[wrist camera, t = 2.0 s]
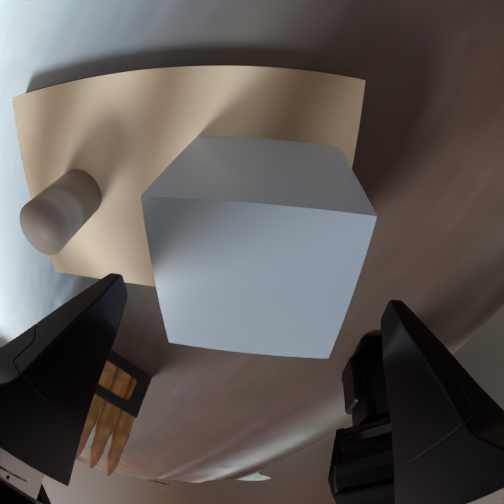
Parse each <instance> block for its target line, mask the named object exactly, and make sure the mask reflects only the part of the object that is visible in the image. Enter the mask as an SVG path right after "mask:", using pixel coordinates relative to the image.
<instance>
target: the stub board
mask: <svg viewBox="0 0 504 504" xmlns="http://www.w3.org/2000/svg"><path fill="white" fill-rule="evenodd" d="M365 81H366V80H362V79H358V78H353V77H348V76H342V75H336V74H330V73H323V72H315V71H307V70H299V69H289V68H277V67H263V66H239V65H201V66H178V67H163V68H152V69H142V70H134V71H126V72H119V73H112V74H106V75H100V76H95V77H89V78H84V79H79V80H75V81H70V82H66V83H61V84H57V85H53V86H49V87H46V88H42V89H38V90H35V91H31V92H28V93H25V94H22V95H19V96H16V97H13V107H14V115H15V122H16V129H17V135H18V141H19V147H20V152H21V157H22V162H23V166H24V171H25V175H26V179H27V184H28V188H29V191H30V195H31V199H32V200H31V201H29V202H28V203H27V204H26V205H25V206H24V207H23V208H22V210H21V213H20V224H21V228H22V230H23V233H24V235H25V236H26V238H27V240H28V241H29V242H30V243H31V245H32V246H33V247H35V248H36V249H37V250H38V251H40V252H42V253H44V254H47V255H50V258H51V260H52V263H53V266H54V268H55V271H56V272H62V273H68V274H74V275H80V276H86V277H93V278H99V279H102V278H104V277H105V276H107V275H108V274H110V273H116V274H121V275H122V276H123V279H124V282H126V283H133V284H140V285H148V286H155V287H156V284H155V279H154V274H153V269H152V264H151V259H150V253H149V248H148V242H147V236H146V230H145V223H144V217H143V210H142V203H141V195H142V194H143V193H144V192H145V191H146V189H147V188H148V187H149V186H150V185H151V184H152V183H153V182H154V181H155V179H156V178H157V177H158V176H159V175H160V174H161V173H162V172H163V171H164V170H165V169H166V168H167V167H168V165H169V164H170V163H171V162H172V161H173V160H174V159H175V158H176V157H177V156H178V155H179V154H180V153H181V152H182V151H183V150H184V149H185V148H186V147H187V146H188V145H189V144H190V143H191V142H192V141H193V140H194V139H195V138H196V137H197V136H198V135H199V136H230V137H248V138H263V139H275V140H286V141H296V142H305V143H314V144H322V145H330V146H337V147H339V148H340V150H341V151H342V153H343V155H344V156H345V158H346V160H347V162H348V163H349V165H350V167H351V169H352V166H353V160H354V155H355V149H356V143H357V137H358V131H359V124H360V118H361V111H362V104H363V97H364V89H365Z"/></svg>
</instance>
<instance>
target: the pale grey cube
mask: <svg viewBox="0 0 504 504" xmlns="http://www.w3.org/2000/svg"><path fill="white" fill-rule="evenodd" d="M141 203H142V210H143V217H144V223H145V230H146V236H147V242H148V248H149V253H150V259H151V264H152V269H153V274H154V279H155V284H156V289H157V294H158V299H159V303H160V308H161V312H162V316H163V321H164V325H165V329H166V333H167V337H168V341H169V343H175V344H182V345H188V346H195V347H202V348H210V349H217V350H225V351H234V352H243V353H253V354H264V355H276V356H289V357H306V358H327V359H328V358H329V356H330V353H331V351H332V348H333V346H334V343H335V341H336V338H337V336H338V333H339V331H340V328H341V325H342V323H343V320H344V318H345V315H346V312H347V309H348V307H349V304H350V301H351V298H352V295H353V293H354V290H355V287H356V284H357V281H358V278H359V275H360V272H361V269H362V266H363V262H364V259H365V256H366V253H367V250H368V246H369V243H370V240H371V236H372V233H373V229H374V226H375V222H376V219H377V215H376V213H375V211H374V209H373V207H372V205H371V203H370V201H369V199H368V198H367V196H366V194H365V192H364V190H363V188H362V186H361V185H360V183H359V181H358V179H357V177H356V176H355V174H354V172H353V170H352V169H351V167H350V165H349V163H348V162H347V160H346V158H345V156H344V155H343V153H342V151H341V150H340V148H339V147H337V146H330V145H322V144H314V143H305V142H296V141H286V140H275V139H263V138H248V137H230V136H199V135H198V136H197V137H196V138H195V139H194V140H193V141H192V142H191V143H190V144H189V145H188V146H187V147H186V148H185V149H184V150H183V151H182V152H181V153H180V154H179V155H178V156H177V157H176V158H175V159H174V160H173V161H172V162H171V163H170V164H169V165H168V167H167V168H166V169H165V170H164V171H163V172H162V173H161V174H160V175H159V176H158V177H157V178H156V179H155V181H154V182H153V183H152V184H151V185H150V186H149V187H148V188H147V189H146V191H145V192H144V193H143V194H142V195H141Z"/></svg>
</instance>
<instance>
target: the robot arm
mask: <svg viewBox="0 0 504 504" xmlns="http://www.w3.org/2000/svg"><path fill="white" fill-rule="evenodd" d="M126 299H127V290H126V286H125V283H124V279H123V276H122V275H121V274H116V273H110V274H108V275H107V276H105V277H104V278H102V279H101V280H99V281H98V282H96V283H94V284H93V285H91V286H90V287H88V288H87V289H85V290H84V291H83V292H81V293H80V294H78V295H77V296H75V297H74V298H72V299H71V300H69V301H68V302H66V303H65V304H63V305H62V306H61V307H59V308H58V309H56V310H55V311H53V312H52V313H51V314H49V315H48V316H46V317H45V318H43V319H42V320H41V321H39V322H38V323H37V324H35V325H34V326H32V327H31V328H29V329H28V330H27V331H25V332H24V333H22V334H21V335H19V336H18V337H16V338H15V339H13V340H12V341H10V342H9V343H7V344H6V345H4V346H2V347H1V348H0V504H51V503H50V501H49V498H48V496H47V494H46V492H45V489H44V487H43V485H42V481H43V478H44V474H45V475H47V476H49V477H50V478H52V479H55V480H56V481H58V482H61V483H62V484H65V485H67V486H68V484H69V481H70V477H71V473H72V469H73V465H74V461H75V458H76V454H77V450H78V447H79V443H80V440H81V435H82V432H83V429H84V426H85V422H86V419H87V416H88V413H89V410H90V407H91V404H92V401H93V398H94V395H95V392H96V389H97V386H98V383H99V380H100V377H101V374H102V372H103V369H104V366H105V363H106V361H107V358H108V355H109V353H110V350H111V348H112V345H113V342H114V340H115V337H116V334H117V331H118V327H119V324H120V320H121V317H122V313H123V310H124V306H125V303H126ZM381 332H382V337H369V336H368V337H364V338H362V339H361V340H360V342H359V344H358V346H357V348H356V350H355V352H354V354H353V356H352V357H351V358H350V359H349V361H348V363H347V365H346V367H345V369H344V371H343V373H342V382H343V388H344V399H345V412H346V413H347V414H352V423H353V427H349V428H346V429H344V428H342V429H338V430H336V437H335V440H334V447H333V453H332V460H331V466H330V472H329V477H328V482H329V486H330V489H331V493H332V495H333V498H334V499H335V501H336V504H504V411H503V409H502V408H501V407H500V406H499V405H498V404H497V403H496V402H495V401H494V400H493V399H492V398H491V397H490V396H489V395H488V394H487V393H486V392H485V391H484V390H483V389H482V388H481V387H480V386H479V385H478V384H477V382H475V380H474V379H473V378H472V377H471V376H470V375H469V374H468V372H467V371H466V370H465V369H464V368H462V366H461V364H460V363H459V362H458V361H457V360H456V359H455V357H454V356H453V355H452V354H451V353H450V352H449V351H448V350H447V349H446V347H445V346H444V345H443V344H442V343H441V342H440V341H439V340H438V339H437V338H436V336H435V335H434V334H433V333H432V332H431V331H430V330H429V329H428V328H427V327H426V326H425V325H424V324H423V322H422V321H421V320H420V319H419V318H418V317H417V316H416V315H415V314H414V313H413V312H412V311H411V310H410V309H409V308H408V307H407V306H406V305H405V304H404V303H403V302H402V301H400V300H390V301H389V302H388V304H387V306H386V309H385V311H384V313H383V315H382V318H381Z"/></svg>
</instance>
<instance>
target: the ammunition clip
mask: <svg viewBox="0 0 504 504" xmlns="http://www.w3.org/2000/svg"><path fill="white" fill-rule="evenodd" d="M114 375H115V376H114ZM151 379H152V377H151V376H149V375H148V374H146V373H145V372H143V371H141V370H140V369H138V368H137V367H135V366H134V365H132V364H131V363H129V362H128V361H126V360H125V359H123V358H122V357H120V356H119V355H118V354H116V353H115V352H113V351H112V350H110V353H109V355H108V358H107V361H106V363H105V366H104V369H103V372H102V374H101V377H100V380H99V383H98V386H97V389H96V392H95V395H94V398H93V401H92V404H91V407H90V410H89V413H88V416H87V419H86V422H85V426H84V429H83V432H82V435H81V440H80V443H79V447H78V450H77V454H76V458H77V457H78V456H79V455H80V454H81V452H82V450H83V449H84V447H85V445H86V442H87V440H88V437H89V435H90V433H91V430H92V429H93V427H94V425H95V424H96V422H97V424H96V430H95V435H94V438H93V442H92V446H91V450H90V457H89V463H90V467H91V468H93V467H94V466H95V465H96V464H97V462H98V461H99V459H100V457H101V455H102V453H103V451H104V448H105V445H106V443H107V440H108V438H109V436H110V435H111V433H112V438H111V444H110V449H109V452H108V456H107V463H106V471H107V475H108V476H110V475H111V474H112V473H113V471H114V470H115V468H116V466H117V464H118V462H119V460H120V457H121V453H122V451H123V449H124V446H125V444H126V442H127V441H128V438H129V435H130V431H131V428H132V425H133V422H134V419H135V418H136V417H137V415H138V413H139V410H140V407H141V405H142V402H143V399H144V397H145V394H146V391H147V389H148V386H149V384H150V381H151ZM112 380H113V381H112ZM110 385H111V386H110ZM102 406H103V407H102ZM101 408H102V410H101ZM100 411H101V413H100ZM99 414H100V415H99ZM98 416H99V418H98ZM117 416H118V417H117ZM97 419H98V421H97ZM116 419H117V420H116ZM115 422H116V423H115ZM114 425H115V426H114ZM113 428H114V429H113ZM112 431H113V432H112ZM76 458H75V459H76Z"/></svg>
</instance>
